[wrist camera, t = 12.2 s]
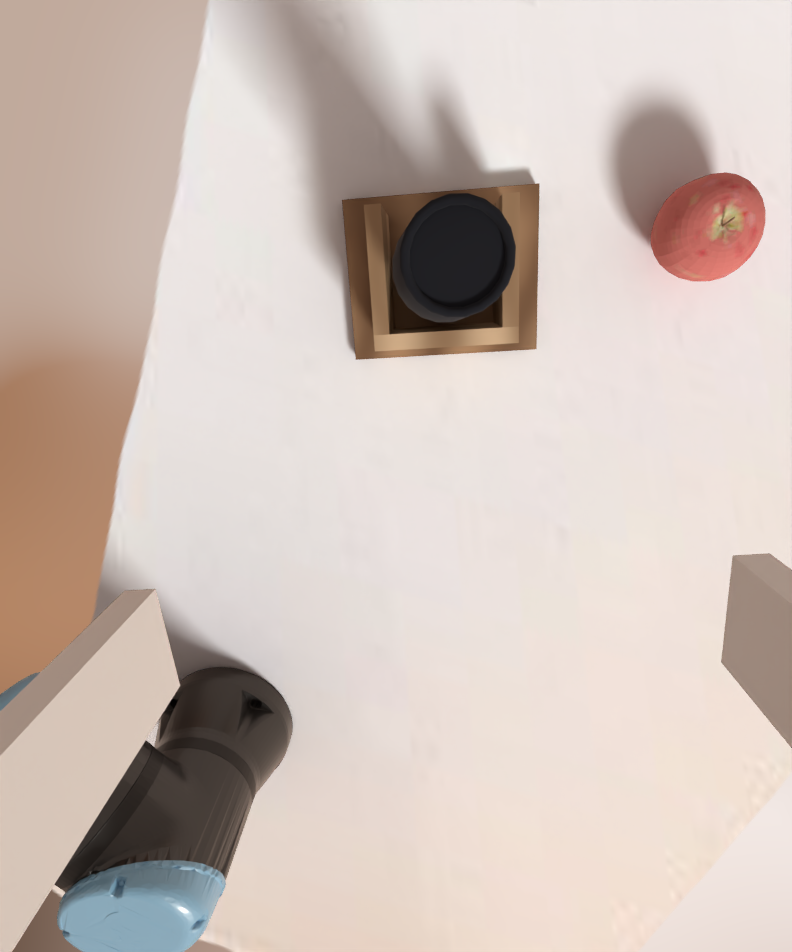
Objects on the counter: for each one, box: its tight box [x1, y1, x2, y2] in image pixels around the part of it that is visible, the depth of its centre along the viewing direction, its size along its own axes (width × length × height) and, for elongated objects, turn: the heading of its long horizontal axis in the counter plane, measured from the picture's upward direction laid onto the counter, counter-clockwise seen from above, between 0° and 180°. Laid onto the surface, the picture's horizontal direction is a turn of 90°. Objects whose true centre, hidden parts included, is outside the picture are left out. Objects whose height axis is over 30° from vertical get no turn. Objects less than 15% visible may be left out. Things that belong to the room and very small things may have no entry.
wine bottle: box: [392, 193, 516, 322], centre depth 32 cm, size 6×6×30 cm
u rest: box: [342, 184, 539, 359], centre depth 43 cm, size 16×13×8 cm
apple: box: [651, 173, 765, 281], centre depth 41 cm, size 7×7×8 cm
